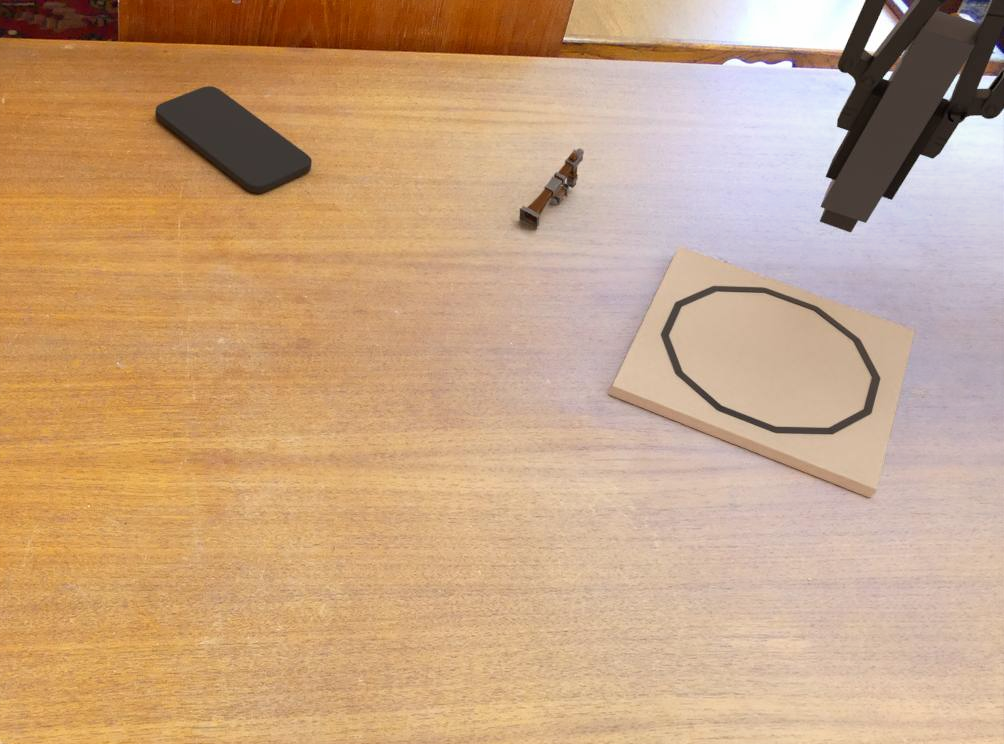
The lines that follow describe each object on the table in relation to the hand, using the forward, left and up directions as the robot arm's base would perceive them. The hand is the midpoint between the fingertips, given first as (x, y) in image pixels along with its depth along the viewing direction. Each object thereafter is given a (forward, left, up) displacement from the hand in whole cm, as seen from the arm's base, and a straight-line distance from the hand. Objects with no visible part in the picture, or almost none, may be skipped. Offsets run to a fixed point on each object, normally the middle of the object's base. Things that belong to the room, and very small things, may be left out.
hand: (862, 178), depth 82 cm
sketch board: (0, +7, -13) cm, 15 cm away
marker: (0, 0, -4) cm, 4 cm away
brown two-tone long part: (+22, -3, -13) cm, 26 cm away
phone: (+50, +4, -13) cm, 52 cm away
